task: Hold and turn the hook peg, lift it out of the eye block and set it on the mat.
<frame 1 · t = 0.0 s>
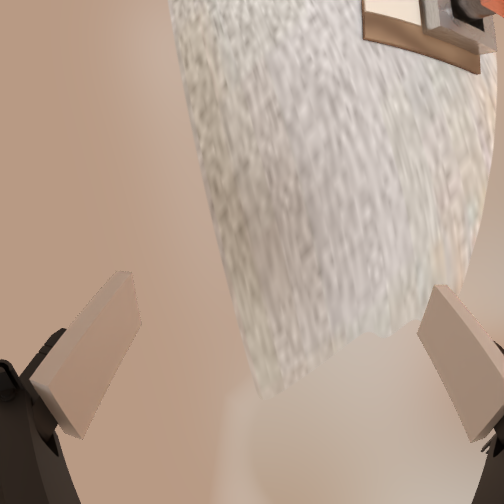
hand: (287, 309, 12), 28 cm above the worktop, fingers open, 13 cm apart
board: (423, 8, 25), on the worktop
hook peg: (449, 15, 24), point 1 cm above the worktop, touching board
eye block: (449, 15, 24), resting on board
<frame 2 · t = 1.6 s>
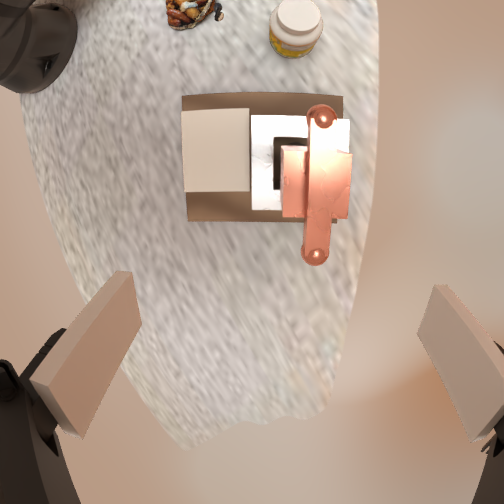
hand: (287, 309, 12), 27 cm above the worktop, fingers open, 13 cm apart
board: (262, 157, 35), on the worktop
mat: (215, 150, 34), resting on board
supplement bottle: (291, 39, 29), on the worktop
hook peg: (296, 158, 34), point 1 cm above the worktop, touching board
eye block: (296, 158, 34), resting on board
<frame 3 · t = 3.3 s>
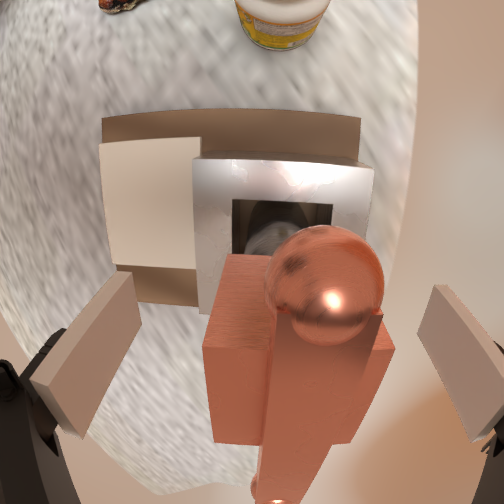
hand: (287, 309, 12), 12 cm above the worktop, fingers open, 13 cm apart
board: (224, 214, 23), on the worktop
mat: (151, 204, 22), resting on board
supplement bottle: (278, 21, 17), on the worktop
hook peg: (277, 220, 22), point 1 cm above the worktop, touching board
eye block: (277, 220, 22), resting on board
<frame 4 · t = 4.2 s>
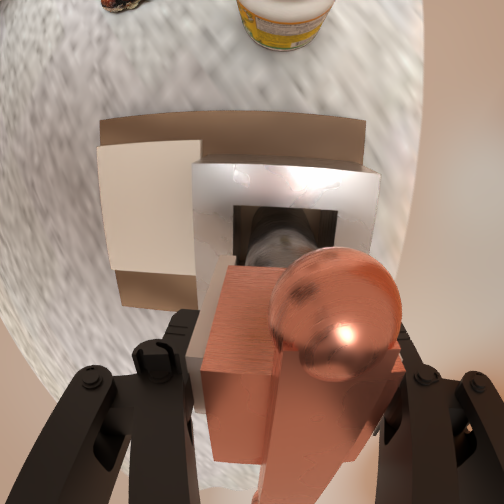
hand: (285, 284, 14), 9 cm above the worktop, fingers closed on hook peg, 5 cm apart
board: (225, 219, 22), on the worktop
mat: (150, 209, 21), resting on board
supplement bottle: (280, 20, 16), on the worktop
hook peg: (280, 226, 21), point 1 cm above the worktop, touching board, gripper
eye block: (280, 226, 21), resting on board
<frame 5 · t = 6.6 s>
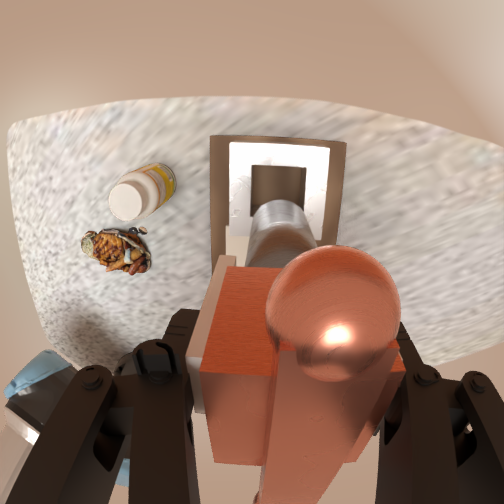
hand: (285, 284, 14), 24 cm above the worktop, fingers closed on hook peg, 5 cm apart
board: (275, 212, 38), on the worktop
mat: (265, 255, 39), resting on board
supplement bottle: (157, 182, 37), on the worktop
hook peg: (279, 227, 21), point 16 cm above the worktop, touching gripper
eye block: (276, 183, 35), resting on board
brown mottled lumpy part: (116, 248, 42), on the worktop
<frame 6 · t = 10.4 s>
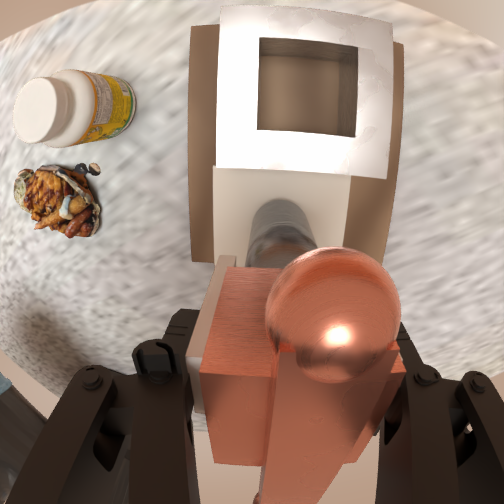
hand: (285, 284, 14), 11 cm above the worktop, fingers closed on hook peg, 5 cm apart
board: (296, 146, 22), on the worktop
mat: (279, 218, 23), resting on board
supplement bottle: (110, 107, 21), on the worktop
hook peg: (280, 227, 21), point 3 cm above the worktop, touching gripper
eye block: (299, 93, 19), resting on board
brown mottled lumpy part: (57, 197, 25), on the worktop
when the fingers open (11 cm above the worktop, at t = 10.6 s): hook peg drops 1 cm, resting on mat.
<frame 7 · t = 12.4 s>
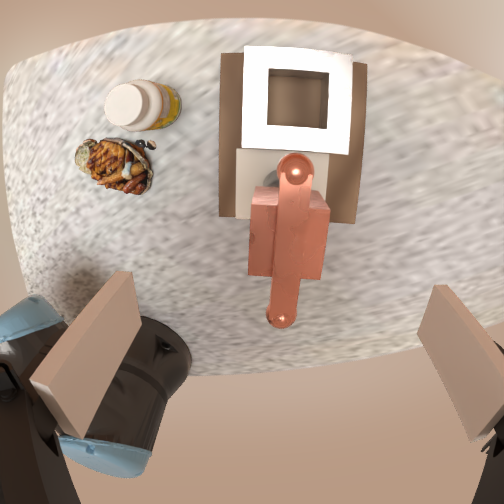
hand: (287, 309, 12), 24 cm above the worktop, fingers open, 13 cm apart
board: (292, 136, 32), on the worktop
mat: (281, 185, 33), resting on board
supplement bottle: (160, 107, 31), on the worktop
hook peg: (280, 187, 33), point 2 cm above the worktop, touching mat
eye block: (294, 101, 29), resting on board
brown mottled lumpy part: (114, 163, 35), on the worktop
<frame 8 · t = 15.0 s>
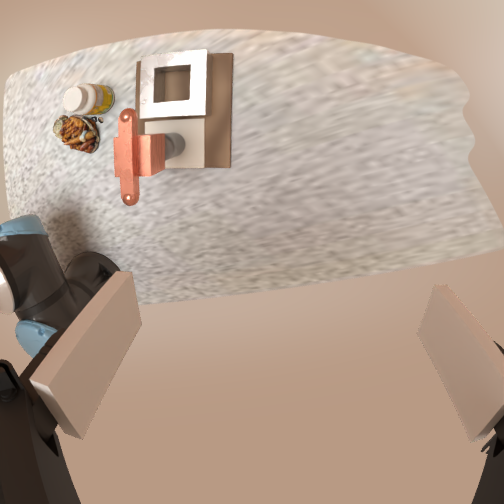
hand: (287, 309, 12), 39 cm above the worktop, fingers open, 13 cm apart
board: (182, 110, 44), on the worktop
mat: (174, 143, 45), resting on board
supplement bottle: (103, 100, 43), on the worktop
hook peg: (173, 144, 45), point 2 cm above the worktop, touching mat
eye block: (181, 87, 42), resting on board
brown mottled lumpy part: (77, 132, 46), on the worktop
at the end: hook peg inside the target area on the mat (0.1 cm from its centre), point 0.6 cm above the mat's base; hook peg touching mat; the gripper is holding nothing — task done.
